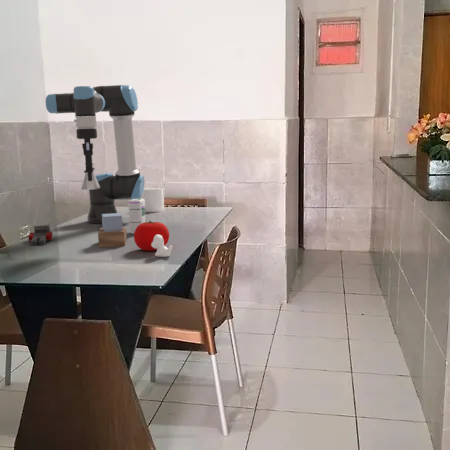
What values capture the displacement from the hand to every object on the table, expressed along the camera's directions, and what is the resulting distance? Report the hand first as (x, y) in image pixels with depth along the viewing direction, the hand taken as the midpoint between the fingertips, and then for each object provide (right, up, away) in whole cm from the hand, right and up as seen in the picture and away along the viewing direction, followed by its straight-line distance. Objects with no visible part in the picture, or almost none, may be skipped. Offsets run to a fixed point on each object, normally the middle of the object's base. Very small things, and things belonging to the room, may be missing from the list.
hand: (90, 188), depth 216 cm
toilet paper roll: (+13, -7, +88) cm, 89 cm away
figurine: (+30, -26, -16) cm, 43 cm away
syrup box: (+14, -18, +28) cm, 36 cm away
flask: (0, -1, 0) cm, 1 cm away
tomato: (+25, -24, -6) cm, 35 cm away
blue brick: (+7, -16, +5) cm, 19 cm away
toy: (-24, -22, +14) cm, 35 cm away
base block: (+7, -22, +7) cm, 24 cm away
